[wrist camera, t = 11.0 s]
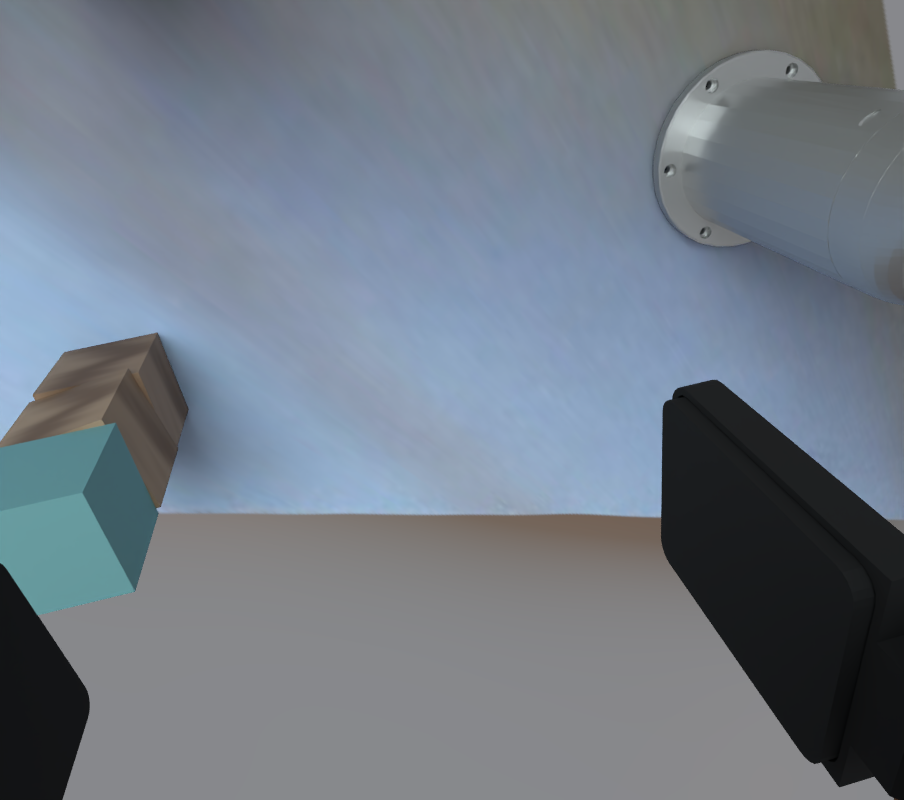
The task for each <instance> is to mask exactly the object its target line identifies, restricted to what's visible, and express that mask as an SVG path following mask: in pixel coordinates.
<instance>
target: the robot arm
mask: <svg viewBox="0 0 904 800" xmlns="http://www.w3.org/2000/svg"><path fill="white" fill-rule="evenodd" d="M707 82H708V86H707V88H706V84H707ZM666 167H667V170H666V171H665V172H664V170H665V168H666ZM653 179H654V187H655V193H656V196H657V199H658V202H659V205H660V208H661V210H662V211H663V213H664V214H665V216H666V218H667V219H668V221H669V222H670V223H671V224H672V225H673V226H674V227H675V228H676V229H677V230H678V231H679V232H681V233H682V234H684V235H686V236H687V237H689V238H690V239H692V240H694V241H696V242H699V243H701V244H705V245H710V246H714V247H733V246H738V245H742V244H747V243H749V242H752V241H753V242H755V243H757V244H759V245H762V246H764V247H766V248H768V249H770V250H772V251H774V252H777V253H779V254H781V255H783V256H785V257H787V258H789V259H792V260H794V261H796V262H798V263H800V264H802V265H805V266H807V267H809V268H811V269H813V270H815V271H817V272H820V273H822V274H824V275H826V276H828V277H830V278H833V279H835V280H837V281H839V282H841V283H843V284H846V285H848V286H850V287H853V288H855V289H857V290H859V291H861V292H864V293H866V294H868V295H870V296H872V297H875V298H877V299H880V300H883V301H886V302H889V303H894V304H899V305H904V90H897V89H886V88H875V87H865V86H854V85H843V84H833V83H823V82H822V81H821V79H820V78H819V77H818V75H817V74H816V72H815V71H814V70H813V69H812V68H811V67H810V66H809V65H808V64H806V63H805V62H804V61H803V60H802V59H800V58H797V57H795V56H793V55H791V54H789V53H786V52H780V51H774V50H751V51H746V52H740V53H736V54H734V55H731V56H729V57H727V58H724V59H722V60H720V61H718V62H716V63H715V64H713V65H712V66H710V67H709V68H707V69H706V70H704V71H703V72H702V73H701V74H700V75H699V76H697V77H696V78H695V79H694V80H693V81H692V82H691V83H690V84H689V85H688V86H687V87H686V88H685V90H684V91H683V92H682V94H681V95H680V96H679V97H678V99H677V100H676V101H675V103H674V105H673V106H672V108H671V110H670V112H669V113H668V115H667V117H666V119H665V121H664V124H663V126H662V129H661V131H660V134H659V137H658V140H657V145H656V149H655V154H654V164H653ZM700 231H701V232H700ZM661 541H662V546H663V550H664V553H665V556H666V558H667V560H668V561H669V563H670V565H671V566H672V568H673V569H674V570H675V572H676V573H677V575H678V576H679V578H680V579H681V581H682V582H683V583H684V585H685V586H686V588H687V589H688V591H689V592H690V593H691V595H692V596H693V598H694V599H695V601H696V602H697V604H698V605H699V606H700V608H701V609H702V611H703V612H704V614H705V615H706V617H707V618H708V619H709V621H710V622H711V624H712V625H713V627H714V628H715V630H716V631H717V632H718V634H719V635H720V637H721V638H722V640H723V641H724V642H725V644H726V645H727V647H728V648H729V650H730V651H731V652H732V654H733V655H734V657H735V658H736V660H737V661H738V663H739V664H740V665H741V667H742V668H743V670H744V671H745V673H746V674H747V676H748V677H749V679H750V680H751V681H752V683H753V684H754V686H755V687H756V689H757V690H758V691H759V693H760V694H761V696H762V697H763V698H764V700H765V701H766V703H767V704H768V706H769V707H770V709H771V710H772V712H773V713H774V715H775V716H776V717H777V719H778V720H779V722H780V723H781V725H782V726H783V727H784V729H785V730H786V732H787V733H788V734H789V736H790V738H791V739H792V740H793V742H794V743H795V745H796V746H797V748H798V749H799V750H800V752H801V753H802V754H803V756H804V757H805V758H806V759H807V760H809V761H810V762H811V763H814V764H816V763H820V762H821V763H822V764H823V765H824V767H825V768H826V770H827V771H828V772H829V774H830V775H831V777H832V778H833V779H834V781H835V782H836V784H837V785H838V786H839V787H842V786H845V785H848V784H852V783H855V782H858V781H861V780H865V779H868V778H871V777H875V778H876V779H877V780H878V782H879V783H880V784H881V785H882V787H883V788H884V789H885V791H886V792H887V793H888V795H889V796H891V797H893V798H894V800H904V534H903V533H902V532H900V531H899V530H898V529H897V528H896V527H894V526H893V525H892V524H891V523H890V522H888V521H887V520H886V519H885V518H884V517H882V516H881V515H880V514H879V513H878V512H876V511H875V510H874V509H873V508H872V507H870V506H869V505H868V504H867V503H866V502H864V501H863V500H862V499H861V498H860V497H858V496H857V495H856V494H855V493H854V492H852V491H851V490H850V489H849V488H847V487H846V486H845V485H844V484H843V483H841V482H840V481H839V480H838V479H837V478H835V477H834V476H833V475H832V474H831V473H829V472H828V471H827V470H826V469H825V468H823V467H822V466H821V465H820V464H819V463H817V462H816V461H815V460H814V459H813V458H811V457H810V456H809V455H808V454H807V453H805V452H804V451H803V450H802V449H801V448H799V447H798V446H797V445H796V444H795V443H793V442H792V441H791V440H790V439H789V438H787V437H786V436H785V435H784V434H783V433H781V432H780V431H779V430H778V429H777V428H775V427H774V426H773V425H772V424H771V423H769V422H768V421H767V420H766V419H765V418H763V417H762V416H761V415H760V414H758V413H757V412H756V411H755V410H754V409H752V408H751V407H750V406H749V405H748V404H746V403H745V402H744V401H743V400H742V399H740V398H739V397H738V396H737V395H736V394H734V393H733V392H732V391H731V390H730V389H728V388H727V387H726V386H725V385H724V384H722V383H721V382H719V381H718V380H710V381H705V382H701V383H697V384H693V385H689V386H684V387H680V388H677V389H676V390H675V391H674V394H673V398H672V400H668V401H666V402H665V403H664V406H663V431H662V510H661ZM89 708H90V702H89V695H88V692H87V690H86V688H85V686H84V685H83V683H82V682H81V680H80V678H79V677H78V675H77V674H76V672H75V671H74V669H73V668H72V666H71V665H70V663H69V662H68V660H67V659H66V657H65V656H64V654H63V653H62V651H61V650H60V648H59V647H58V645H57V644H56V642H55V641H54V639H53V638H52V636H51V635H50V633H49V632H48V630H47V629H46V627H45V626H44V624H43V623H42V621H41V620H40V618H39V617H38V615H37V614H36V612H35V611H34V609H33V608H32V606H31V605H30V603H29V602H28V600H27V599H26V597H25V596H24V594H23V593H22V591H21V590H20V588H19V587H18V585H17V584H16V582H15V581H14V579H13V578H12V576H11V575H10V573H9V572H8V570H7V569H6V568H5V567H4V565H3V564H1V563H0V800H62V799H63V796H64V793H65V790H66V786H67V783H68V780H69V777H70V773H71V770H72V767H73V764H74V761H75V758H76V754H77V751H78V748H79V745H80V742H81V738H82V735H83V732H84V729H85V725H86V722H87V719H88V715H89Z"/></svg>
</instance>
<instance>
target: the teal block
mask: <svg viewBox="0 0 904 800" xmlns="http://www.w3.org/2000/svg"><path fill="white" fill-rule="evenodd" d="M157 517H158V511H157V509H156V507H155V505H154V503H153V501H152V499H151V497H150V494H149V492H148V490H147V488H146V486H145V484H144V482H143V480H142V477H141V475H140V473H139V471H138V469H137V467H136V465H135V463H134V460H133V458H132V456H131V454H130V452H129V450H128V448H127V446H126V443H125V441H124V439H123V437H122V435H121V433H120V431H119V429H118V426H117V424H116V423H112V424H107V425H103V426H98V427H93V428H89V429H84V430H79V431H75V432H70V433H66V434H61V435H56V436H52V437H47V438H42V439H38V440H33V441H29V442H24V443H19V444H15V445H10V446H6V447H1V448H0V563H1V564H3V565H4V567H5V568H6V569H7V570H8V572H9V573H10V575H11V576H12V578H13V579H14V581H15V582H16V584H17V585H18V587H19V588H20V590H21V591H22V593H23V594H24V596H25V597H26V599H27V600H28V602H29V603H30V605H31V606H32V608H33V609H34V611H35V612H36V614H37V615H40V614H44V613H49V612H53V611H57V610H61V609H65V608H69V607H74V606H78V605H82V604H86V603H90V602H94V601H98V600H102V599H107V598H111V597H114V596H119V595H123V594H127V593H132V592H135V590H136V587H137V583H138V580H139V577H140V573H141V570H142V567H143V563H144V560H145V557H146V553H147V550H148V546H149V543H150V540H151V537H152V533H153V530H154V526H155V523H156V520H157Z"/></svg>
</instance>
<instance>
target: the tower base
mask: <svg viewBox="0 0 904 800" xmlns="http://www.w3.org/2000/svg"><path fill="white" fill-rule="evenodd" d="M127 368H128V369H129V370H130V372H131V374H132V375H133V377H134V378H135V380H136V382H137V383H138V385H139V386H140V388H141V390H142V391H143V393H144V394H145V396H146V398H147V399H148V401H149V402H150V404H151V406H152V407H153V409H154V410H155V412H156V414H157V415H158V417H159V418H160V420H161V422H162V423H163V425H164V426H165V428H166V430H167V431H168V433H169V434H170V436H171V438H172V439H173V441H174V442H175V444H176V445H177V446H178V442H179V439H180V436H181V432H182V429H183V426H184V422H185V419H186V416H187V412H188V407H187V405H186V402H185V400H184V397H183V395H182V392H181V390H180V387H179V385H178V382H177V380H176V378H175V375H174V373H173V370H172V368H171V365H170V363H169V360H168V358H167V355H166V353H165V350H164V348H163V346H162V343H161V341H160V338H159V336H158V333H154V334H149V335H144V336H139V337H134V338H130V339H125V340H120V341H115V342H111V343H106V344H101V345H96V346H92V347H87V348H82V349H77V350H73V351H68V352H64V353H63V355H62V356H61V357H60V359H59V360H58V361H57V363H56V364H55V365H54V367H53V368H52V369H51V371H50V372H49V373H48V375H47V376H46V378H45V379H44V380H43V382H42V383H41V384H40V386H39V387H38V388H37V390H36V391H35V392H34V394H33V397H34V399H35V401H36V400H38V399H41V398H44V397H47V396H50V395H53V394H56V393H58V392H61V391H64V390H67V389H70V388H73V387H75V386H78V385H81V384H84V383H87V382H90V381H93V380H95V379H98V378H101V377H104V376H107V375H110V374H112V373H115V372H118V371H121V370H124V369H127Z"/></svg>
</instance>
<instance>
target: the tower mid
mask: <svg viewBox="0 0 904 800" xmlns="http://www.w3.org/2000/svg"><path fill="white" fill-rule="evenodd" d="M112 423H116V424H117V426H118V429H119V431H120V433H121V435H122V437H123V439H124V441H125V443H126V446H127V448H128V450H129V452H130V454H131V456H132V458H133V460H134V463H135V465H136V467H137V469H138V471H139V473H140V475H141V477H142V480H143V482H144V484H145V486H146V488H147V490H148V492H149V494H150V497H151V499H152V501H153V503H154V505H155V507H156V508H158V507H161V504H162V501H163V498H164V494H165V491H166V488H167V484H168V481H169V477H170V474H171V471H172V467H173V464H174V461H175V457H176V454H177V451H178V447H177V445H176V444H175V442H174V441H173V439H172V438H171V436H170V434H169V433H168V431H167V430H166V428H165V426H164V425H163V423H162V422H161V420H160V418H159V417H158V415H157V414H156V412H155V410H154V409H153V407H152V406H151V404H150V402H149V401H148V399H147V398H146V396H145V394H144V393H143V391H142V390H141V388H140V386H139V385H138V383H137V382H136V380H135V378H134V377H133V375H132V374H131V372H130V370H129V369H128V368H127V369H124V370H121V371H118V372H115V373H112V374H110V375H107V376H104V377H101V378H98V379H95V380H93V381H90V382H87V383H84V384H81V385H78V386H75V387H73V388H70V389H67V390H64V391H61V392H58V393H56V394H53V395H50V396H47V397H44V398H41V399H38V400H36V401H33V402H30V403H29V404H28V405H27V406H26V408H25V409H24V410H23V412H22V413H21V414H20V416H19V417H18V419H17V420H16V421H15V423H14V424H13V425H12V427H11V428H10V429H9V431H8V432H7V433H6V435H5V436H4V438H3V439H2V440H1V442H0V448H1V447H6V446H10V445H15V444H19V443H24V442H29V441H33V440H38V439H42V438H47V437H52V436H56V435H61V434H66V433H70V432H75V431H79V430H84V429H89V428H93V427H98V426H103V425H107V424H112Z"/></svg>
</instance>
